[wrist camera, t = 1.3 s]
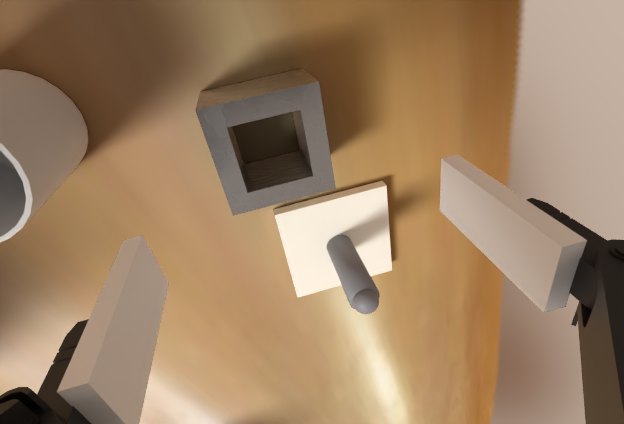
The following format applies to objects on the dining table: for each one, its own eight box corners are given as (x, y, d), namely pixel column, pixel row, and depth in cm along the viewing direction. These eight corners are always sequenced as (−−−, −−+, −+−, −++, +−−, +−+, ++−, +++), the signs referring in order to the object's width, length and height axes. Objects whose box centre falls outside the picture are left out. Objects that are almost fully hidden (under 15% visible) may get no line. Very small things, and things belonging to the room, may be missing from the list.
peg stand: (295, 290, 36) (316, 370, 28) (273, 209, 30) (290, 279, 23) (388, 264, 37) (432, 333, 29) (382, 180, 31) (434, 238, 23)
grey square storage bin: (231, 184, 28) (233, 215, 24) (200, 91, 24) (195, 110, 20) (319, 161, 29) (335, 188, 25) (302, 68, 25) (318, 81, 21)
